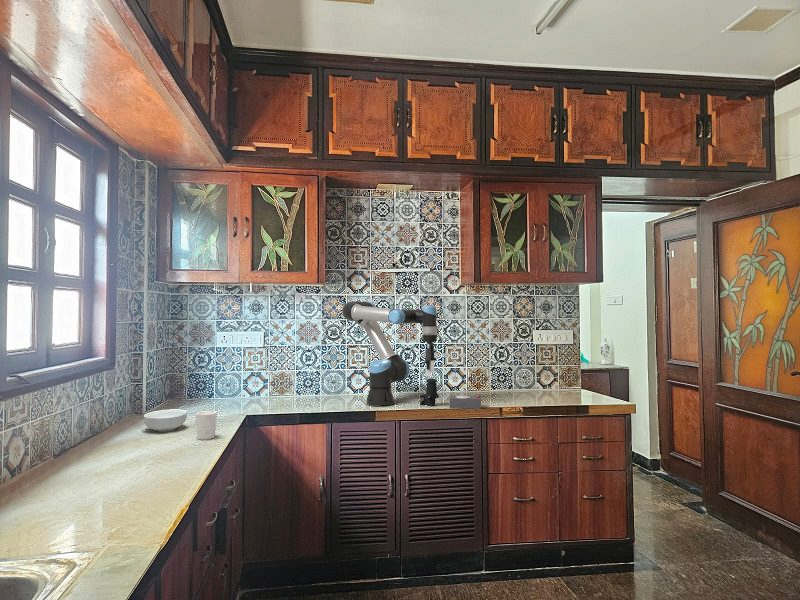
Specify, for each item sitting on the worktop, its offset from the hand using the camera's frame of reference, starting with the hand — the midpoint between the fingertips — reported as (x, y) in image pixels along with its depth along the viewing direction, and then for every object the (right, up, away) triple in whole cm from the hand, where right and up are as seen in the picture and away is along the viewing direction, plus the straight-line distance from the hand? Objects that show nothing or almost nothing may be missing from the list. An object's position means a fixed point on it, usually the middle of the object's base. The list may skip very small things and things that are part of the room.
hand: (430, 374), depth 264 cm
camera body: (+18, -17, -5) cm, 25 cm away
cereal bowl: (-117, -16, -52) cm, 129 cm away
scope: (0, -17, 0) cm, 17 cm away
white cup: (-94, -16, -66) cm, 116 cm away
